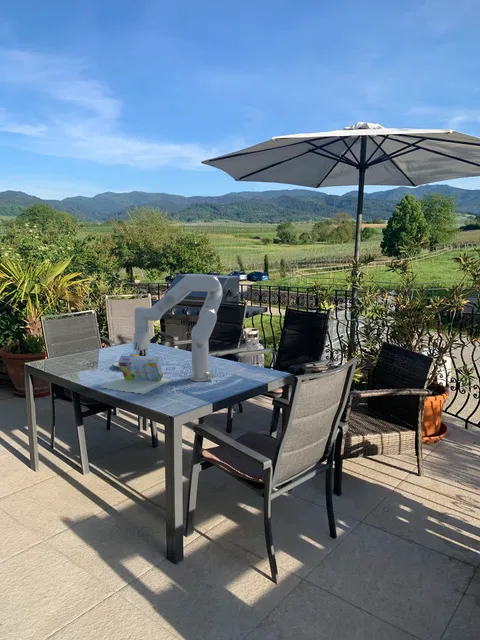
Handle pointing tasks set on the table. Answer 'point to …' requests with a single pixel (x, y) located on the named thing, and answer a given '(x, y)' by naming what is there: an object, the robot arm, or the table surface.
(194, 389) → the table surface
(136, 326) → the robot arm
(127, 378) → the snack box
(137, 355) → the food on plate
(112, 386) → the mat
